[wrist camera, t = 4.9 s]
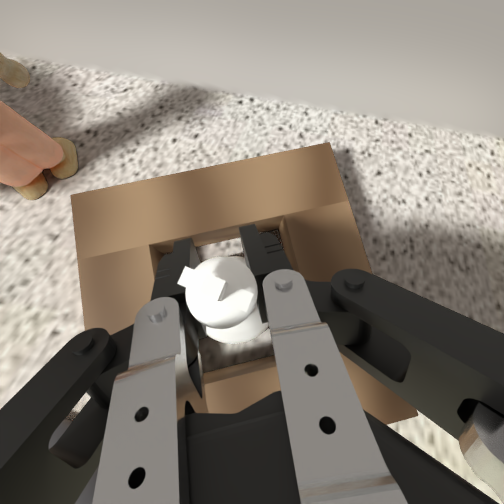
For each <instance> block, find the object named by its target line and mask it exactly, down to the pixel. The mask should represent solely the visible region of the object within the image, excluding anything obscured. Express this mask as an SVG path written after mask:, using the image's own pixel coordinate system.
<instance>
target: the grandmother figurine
mask: <svg viewBox="0 0 504 504" xmlns="http://www.w3.org/2000/svg"><path fill="white" fill-rule="evenodd" d="M0 78H1V79H2V80H3V81H5V82H6V83H7V84H9V85H11V86H13V87H16V88H23V87H26V86H27V85H28V84H29V82H30V75H29V72H28V71H27V69H26V68H25V67H24V66H23V65H22V64H20V63H18V62H17V61H14V60H11V59H7V58H5V57H4V56H3V55H2V54H1V53H0ZM46 168H49V169H50V171H51V172H52V174H53V175H54V176H55V177H57V178H59V179H65V178H68V177H70V176H72V175H74V174H75V173H76V171H77V169H78V161H77V154H76V148H75V145H74V144H73V143H72V142H71V141H70V140H68V139H65V138H61V137H54V138H50V137H49V136H48V135H47V134H45V133H44V132H43V131H41V130H40V129H39V128H37V127H36V126H34V125H33V124H31V123H30V122H29V121H27V120H26V119H25V118H23V117H22V116H21V115H19V114H18V113H17V112H15V111H14V110H13V109H11V108H10V107H9V106H7V105H6V104H5V103H3V102H2V101H1V100H0V182H1V183H3V184H6V185H9V186H12V187H13V188H14V189H15V190H16V191H17V192H18V193H20V194H21V195H22V196H23V197H24V198H26V199H28V200H35V199H38V198H39V197H41V196H42V195H43V194H44V193H45V192H46V191H47V188H48V183H47V181H46V179H45V177H44V175H43V173H42V171H43V170H44V169H46Z"/></svg>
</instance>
